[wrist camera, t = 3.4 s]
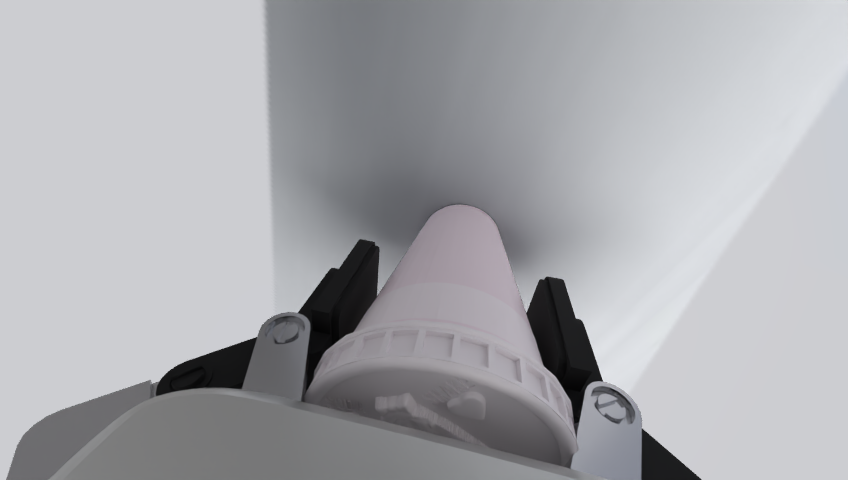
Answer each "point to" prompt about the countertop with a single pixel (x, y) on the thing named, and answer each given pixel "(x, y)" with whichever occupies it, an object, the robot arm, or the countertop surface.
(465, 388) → the smoothie
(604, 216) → the countertop surface
